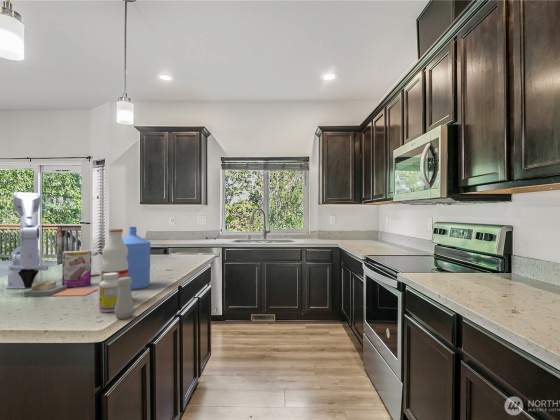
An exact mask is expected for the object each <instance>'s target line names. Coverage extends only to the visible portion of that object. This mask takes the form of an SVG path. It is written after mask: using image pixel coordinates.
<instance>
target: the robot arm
mask: <svg viewBox="0 0 560 420" xmlns="http://www.w3.org/2000/svg"><path fill="white" fill-rule="evenodd" d="M12 204H13V205H12V206H13V207H12V208H13V211H14V212H17V213H18V214H19V223H20V224H19V227H20V228H19V232H18V237H19V246H18V247H16V248H15V249H13V251H12V255H11V265H9V266H8V273H7V287H6V289H13V290H14V289H32V284H34V283H37V282H36V278H37V275H38V273H39V271H48V270H49V264H47V265H46V264H45V265H44V264H40V262H41V254H40V249H39V248H38V247H39V246H38V244H39V239H40V236H41V234H40V233H41V232H40V231H41V230H40V227H39V225H38V217H37V215H34V213H36V212H38V211H39V209H40V205H41V194H40V192H24V191H23V192H20V191H14V192H13V194H12Z"/></svg>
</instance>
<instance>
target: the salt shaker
mask: <svg viewBox="0 0 560 420" xmlns="http://www.w3.org/2000/svg"><path fill="white" fill-rule="evenodd" d="M130 284H132V278H131V277H122V278H119V279H118V285H119V286H120V287H119V292H118V297H117V301H116V306H115V310H114V314H115V316H116V318H117V319H118V320H119V319H120V320H124V319H125V320H126V319H129V318H132V316H133V313H134V310H135V307H134V302H133V296H132V295H133V294H132V290H131V288H130Z"/></svg>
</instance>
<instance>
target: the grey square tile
mask: <svg viewBox="0 0 560 420" xmlns="http://www.w3.org/2000/svg"><path fill="white" fill-rule="evenodd" d="M66 289H68V288H67V285H62V284H61V285H56V287H54V288H52V289H49V290H32V289H29V290H26V291H24V297H25V298H26V297H27V298H28V297H29V298H32V297H34V298H35V297H36V298H39V297H42V298H43V297H45V298H46V297H53V296H52V295H54V294H56V293H59V292H61V291H64V290H66Z"/></svg>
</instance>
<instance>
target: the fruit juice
mask: <svg viewBox="0 0 560 420" xmlns="http://www.w3.org/2000/svg"><path fill="white" fill-rule="evenodd" d="M123 230H124V229H123V228H109V229H108V234H109V237H108V240H107V243H106V244H105V245H104V246H103V248H102V251H101V255H102V258H103V261H102V262H101V267H100V271H101V272H100V273H101V275H100V276H101V277H100V280H101V281H100V283H101V282H102V281H104V279H103V274H105V273H118V277H117V280H118V279H119V278H122V277H128V261H127V255H128V248H127V246H126V245H125V244H124V242H123V240H122V239H123V235H122V234H123Z"/></svg>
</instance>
